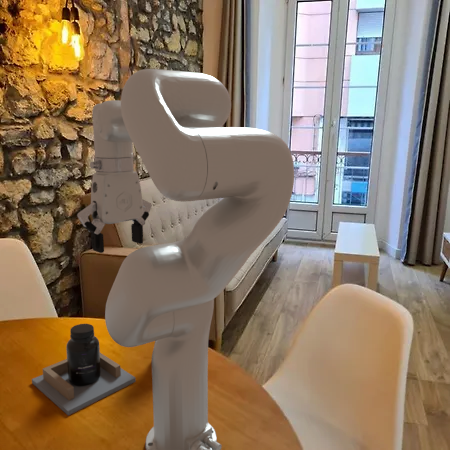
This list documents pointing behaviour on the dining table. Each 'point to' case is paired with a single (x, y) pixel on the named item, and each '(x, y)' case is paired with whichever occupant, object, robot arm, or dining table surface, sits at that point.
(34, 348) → the dining table surface
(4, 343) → the dining table surface
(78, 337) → the supplement bottle
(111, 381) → the bottle stand
